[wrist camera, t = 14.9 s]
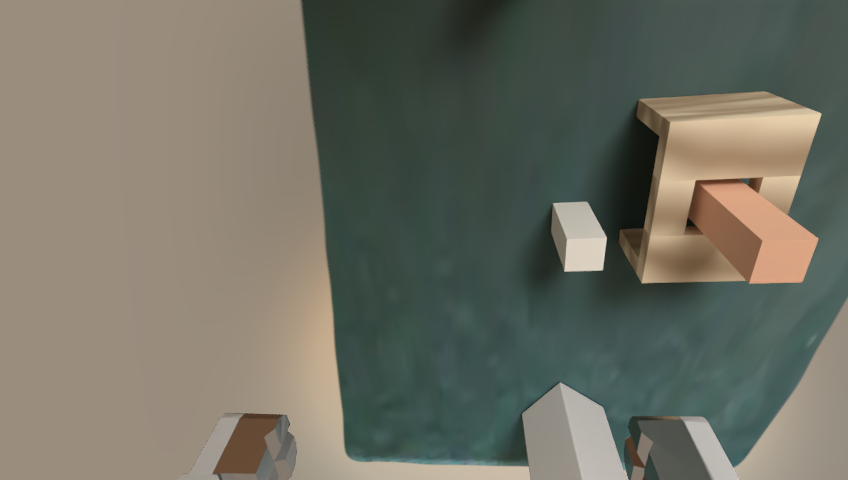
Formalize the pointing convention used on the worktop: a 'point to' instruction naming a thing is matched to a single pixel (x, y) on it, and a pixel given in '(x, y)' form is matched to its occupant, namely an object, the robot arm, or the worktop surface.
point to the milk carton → (569, 438)
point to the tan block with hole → (713, 174)
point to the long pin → (751, 232)
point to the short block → (578, 237)
